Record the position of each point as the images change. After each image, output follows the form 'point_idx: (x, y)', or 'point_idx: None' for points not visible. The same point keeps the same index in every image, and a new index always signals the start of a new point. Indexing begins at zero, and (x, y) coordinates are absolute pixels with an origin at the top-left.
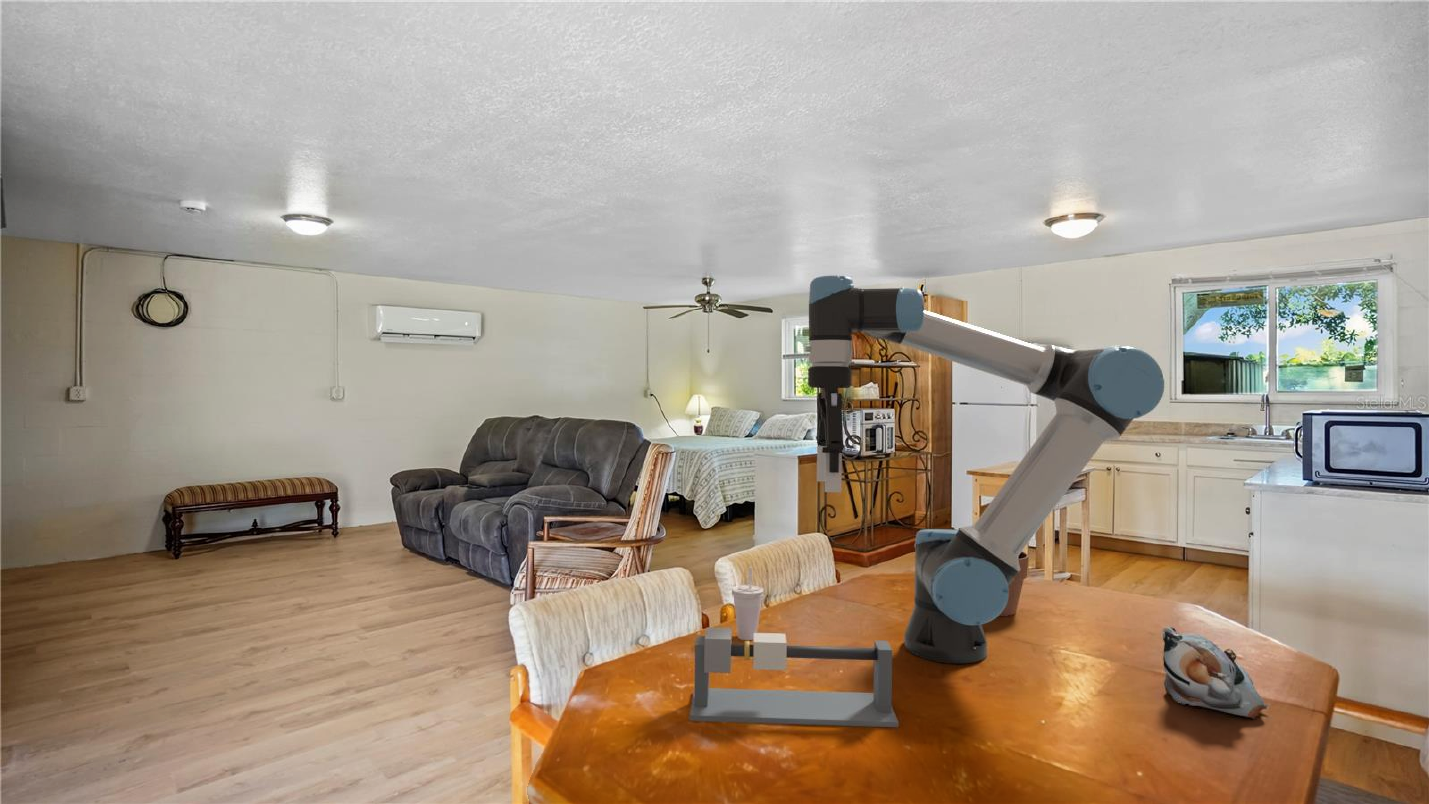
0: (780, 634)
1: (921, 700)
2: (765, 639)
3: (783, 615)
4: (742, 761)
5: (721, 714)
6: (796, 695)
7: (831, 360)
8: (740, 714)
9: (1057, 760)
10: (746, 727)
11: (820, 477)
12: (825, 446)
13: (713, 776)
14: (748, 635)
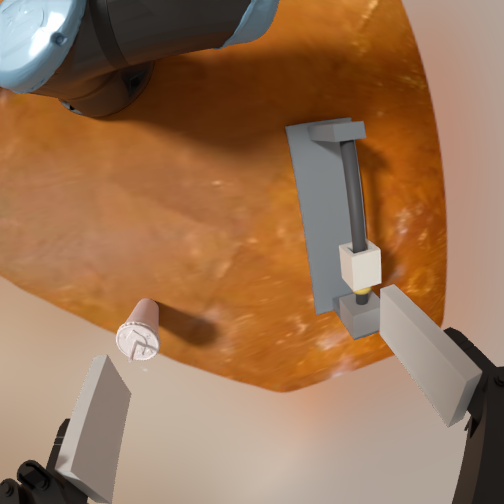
0: (355, 261)
1: (278, 88)
2: (372, 273)
3: (58, 284)
4: (417, 241)
5: None
6: (315, 221)
7: None
8: None
9: (365, 3)
10: None
11: (123, 395)
12: (91, 487)
13: (433, 254)
14: (157, 307)
